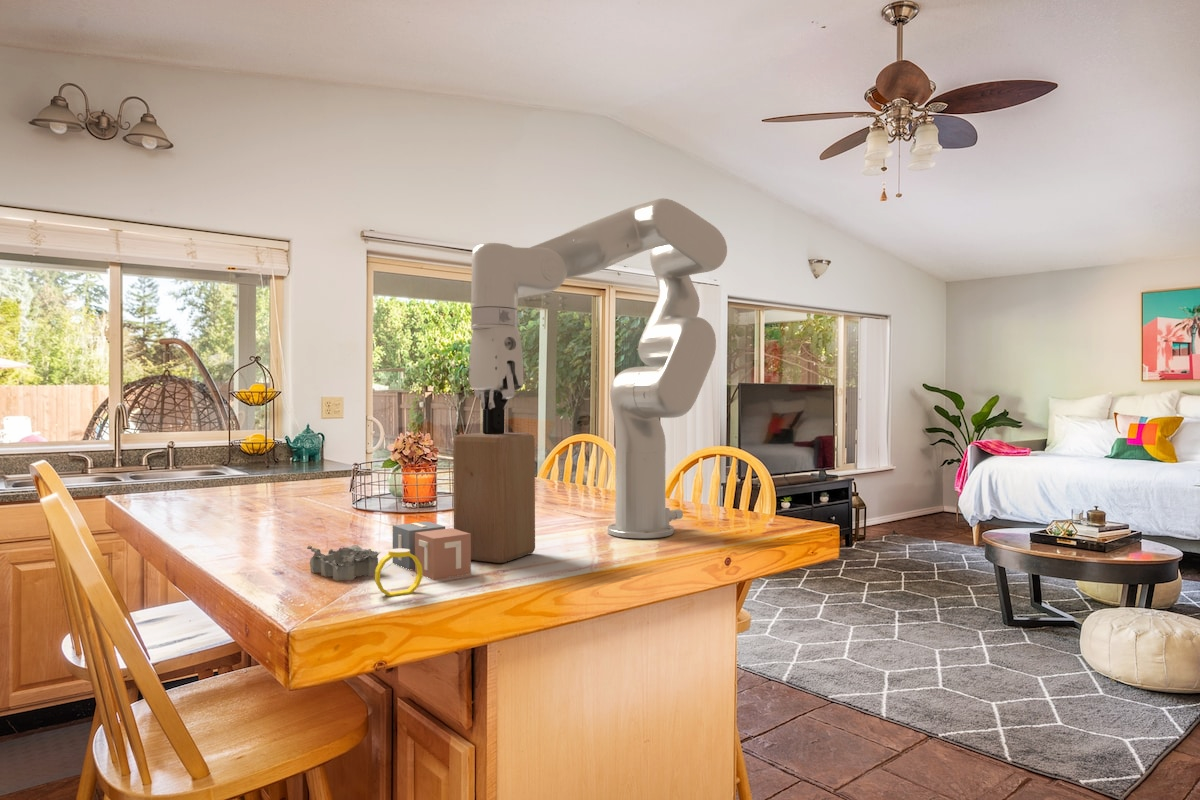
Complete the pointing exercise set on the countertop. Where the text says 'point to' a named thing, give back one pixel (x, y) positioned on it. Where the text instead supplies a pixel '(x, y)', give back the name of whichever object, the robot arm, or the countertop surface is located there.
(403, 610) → the countertop surface
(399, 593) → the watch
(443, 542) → the terracotta cube seven
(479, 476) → the wooden block
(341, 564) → the egg carton
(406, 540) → the slate cube one
